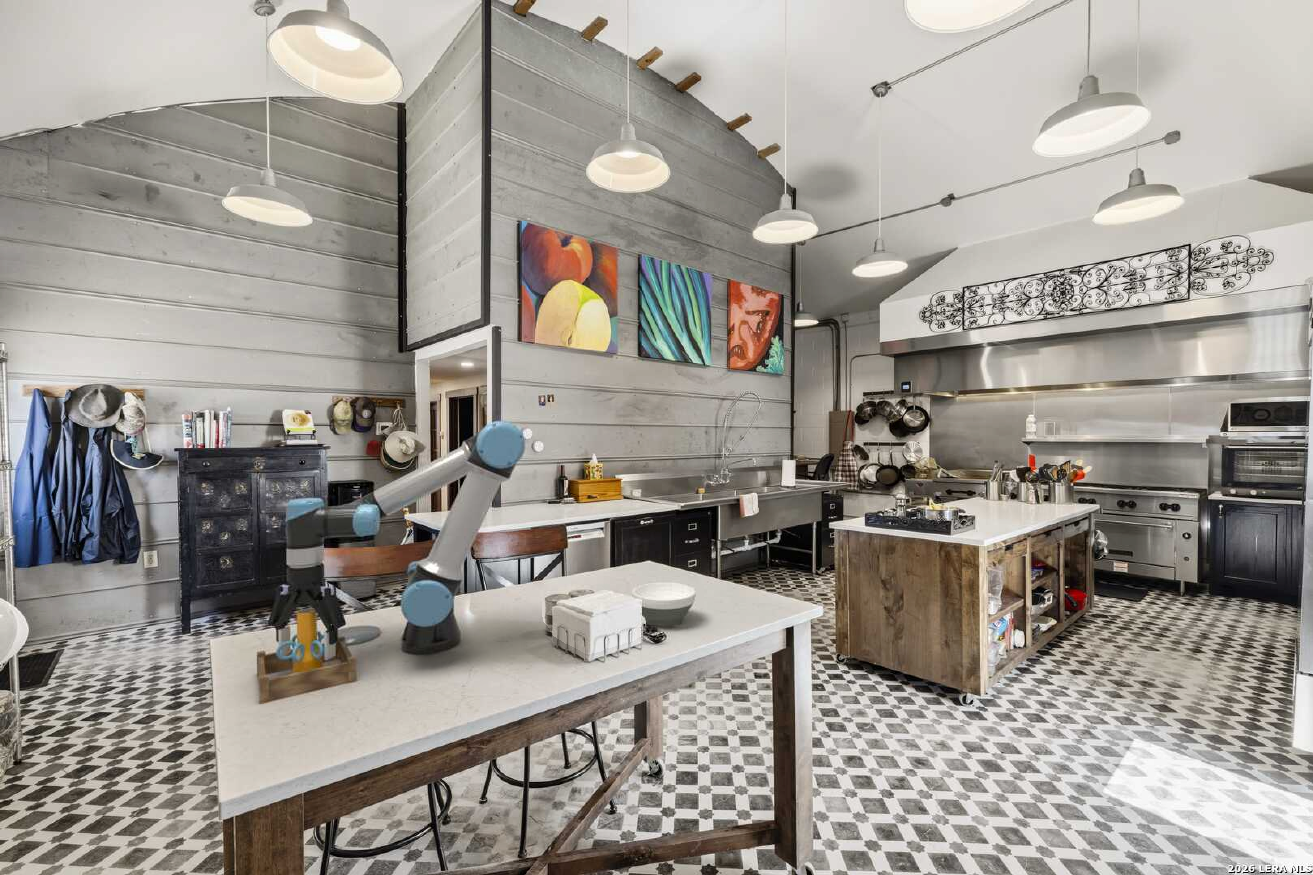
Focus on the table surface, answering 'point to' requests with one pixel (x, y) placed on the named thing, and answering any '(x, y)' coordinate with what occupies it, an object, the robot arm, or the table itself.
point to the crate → (303, 674)
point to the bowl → (664, 602)
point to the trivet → (359, 634)
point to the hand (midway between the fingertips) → (307, 656)
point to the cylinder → (305, 643)
